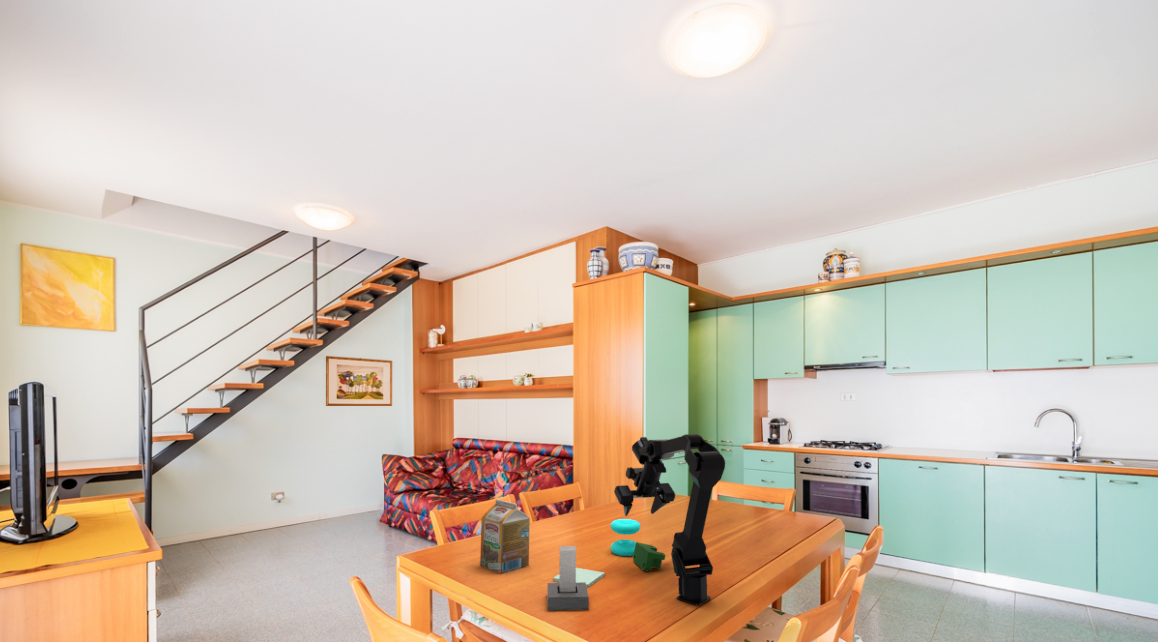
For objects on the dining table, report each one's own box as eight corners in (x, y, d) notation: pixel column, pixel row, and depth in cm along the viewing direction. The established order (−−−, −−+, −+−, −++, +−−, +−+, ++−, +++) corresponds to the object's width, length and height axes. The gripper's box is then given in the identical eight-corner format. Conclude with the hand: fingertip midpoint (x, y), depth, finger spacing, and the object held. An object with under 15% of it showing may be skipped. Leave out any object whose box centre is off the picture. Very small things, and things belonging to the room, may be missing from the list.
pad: (604, 575, 152) (604, 572, 153) (587, 587, 143) (587, 584, 143) (571, 569, 157) (571, 566, 158) (552, 580, 148) (553, 577, 148)
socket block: (585, 594, 138) (585, 582, 138) (588, 609, 128) (588, 596, 128) (547, 595, 137) (547, 583, 138) (547, 610, 127) (547, 597, 128)
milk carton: (480, 565, 161) (482, 501, 163) (507, 558, 168) (509, 497, 171) (500, 574, 153) (502, 506, 156) (528, 566, 161) (529, 501, 163)
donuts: (621, 526, 170) (605, 520, 178) (621, 558, 168) (605, 550, 177) (646, 523, 174) (629, 517, 183) (646, 554, 173) (629, 547, 182)
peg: (574, 599, 135) (575, 545, 136) (575, 605, 131) (575, 550, 133) (559, 599, 134) (559, 546, 136) (559, 605, 130) (560, 550, 132)
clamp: (658, 585, 157) (668, 560, 156) (639, 581, 156) (650, 556, 154) (648, 557, 169) (658, 534, 167) (631, 554, 168) (640, 530, 166)
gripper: (666, 456, 170) (654, 494, 176) (613, 458, 163) (603, 497, 169) (682, 480, 160) (668, 519, 166) (626, 483, 154) (615, 523, 160)
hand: (638, 514), depth 166 cm, fingers open, 9 cm apart
